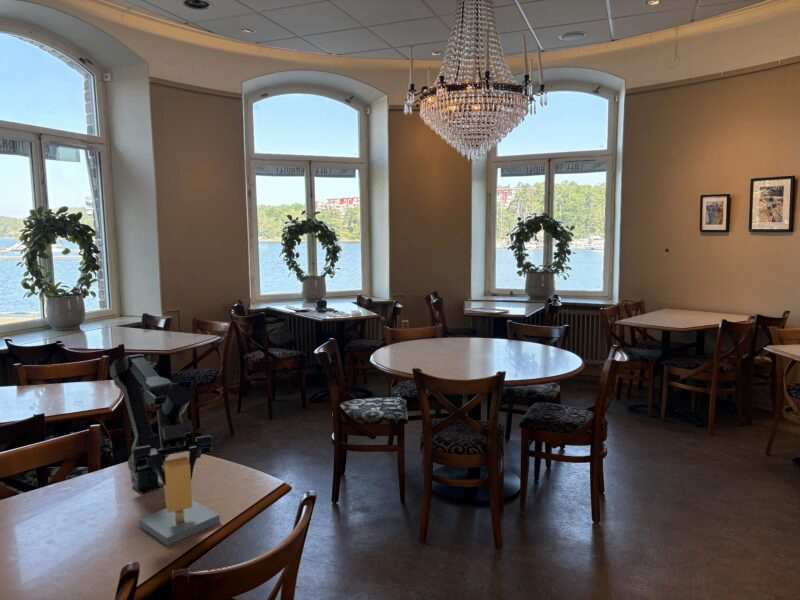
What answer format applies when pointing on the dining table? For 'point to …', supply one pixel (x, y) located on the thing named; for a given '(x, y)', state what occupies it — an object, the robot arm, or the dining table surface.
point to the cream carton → (177, 484)
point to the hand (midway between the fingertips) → (178, 482)
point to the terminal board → (178, 523)
